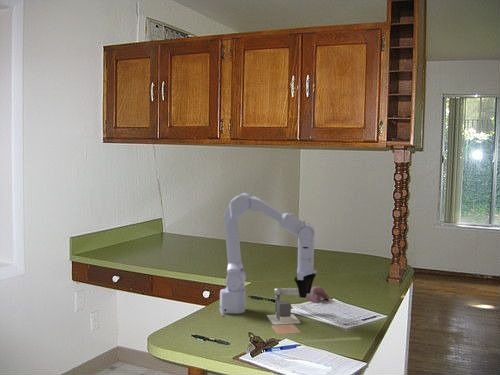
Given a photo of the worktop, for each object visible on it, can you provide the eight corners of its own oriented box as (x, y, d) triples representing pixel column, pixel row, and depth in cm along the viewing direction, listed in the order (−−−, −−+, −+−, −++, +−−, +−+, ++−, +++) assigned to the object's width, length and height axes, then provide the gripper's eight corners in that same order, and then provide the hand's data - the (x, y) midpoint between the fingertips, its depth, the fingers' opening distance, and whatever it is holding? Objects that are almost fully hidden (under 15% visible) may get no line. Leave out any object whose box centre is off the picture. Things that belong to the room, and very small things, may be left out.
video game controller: (321, 302, 212) (315, 285, 213) (330, 299, 209) (324, 282, 211) (308, 307, 204) (302, 290, 206) (317, 304, 202) (311, 287, 203)
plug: (279, 321, 180) (279, 304, 180) (276, 317, 184) (276, 300, 184) (290, 320, 181) (290, 303, 181) (287, 316, 185) (287, 300, 185)
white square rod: (313, 295, 190) (313, 289, 190) (274, 295, 189) (274, 289, 189) (312, 293, 192) (312, 288, 192) (274, 293, 192) (274, 287, 191)
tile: (276, 336, 168) (277, 333, 168) (270, 327, 176) (271, 325, 176) (300, 335, 170) (300, 332, 169) (293, 326, 177) (293, 324, 177)
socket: (273, 326, 177) (273, 306, 176) (263, 313, 191) (264, 294, 190) (301, 325, 179) (301, 304, 178) (289, 312, 193) (290, 293, 192)
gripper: (311, 263, 177) (310, 302, 178) (321, 255, 191) (320, 291, 192) (291, 261, 180) (291, 299, 181) (302, 253, 194) (302, 289, 195)
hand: (305, 295), depth 187 cm, fingers open, 5 cm apart
